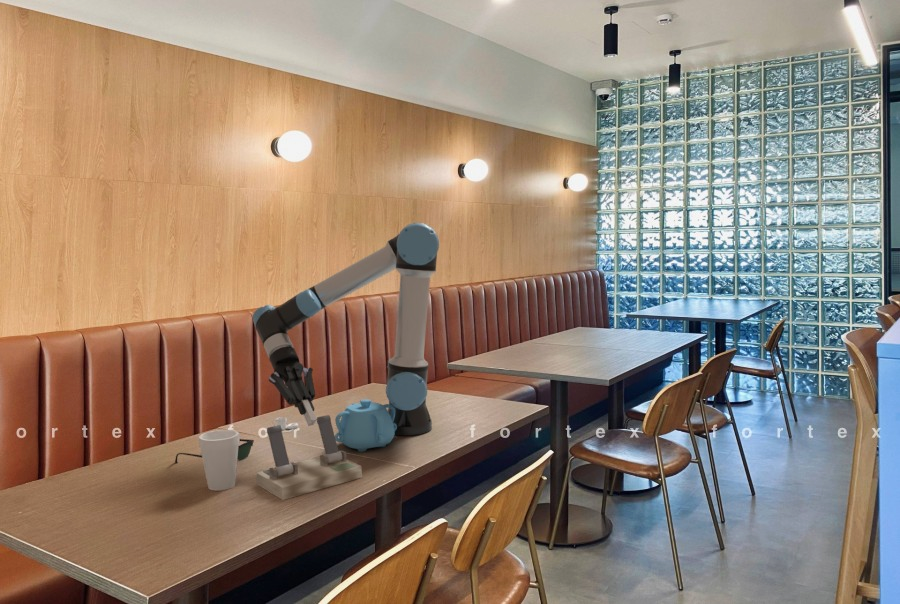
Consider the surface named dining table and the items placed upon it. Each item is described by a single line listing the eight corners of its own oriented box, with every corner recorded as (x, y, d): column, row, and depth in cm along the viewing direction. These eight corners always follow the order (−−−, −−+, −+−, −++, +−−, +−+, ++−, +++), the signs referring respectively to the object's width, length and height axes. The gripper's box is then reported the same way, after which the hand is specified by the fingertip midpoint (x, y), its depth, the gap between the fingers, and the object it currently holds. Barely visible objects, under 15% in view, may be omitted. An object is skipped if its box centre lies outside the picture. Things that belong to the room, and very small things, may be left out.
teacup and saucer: (300, 427, 227) (299, 415, 226) (292, 434, 219) (291, 421, 218) (274, 427, 227) (273, 414, 227) (265, 434, 220) (264, 421, 219)
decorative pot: (354, 435, 215) (352, 392, 214) (402, 439, 210) (401, 395, 209) (329, 451, 200) (327, 405, 198) (380, 456, 195) (379, 408, 193)
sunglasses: (209, 449, 204) (208, 433, 204) (255, 456, 198) (255, 439, 197) (166, 467, 190) (164, 449, 189) (214, 475, 183) (213, 456, 182)
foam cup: (199, 494, 168) (197, 442, 167) (202, 481, 177) (200, 431, 176) (241, 490, 171) (238, 438, 169) (241, 477, 179) (239, 428, 178)
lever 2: (339, 461, 182) (327, 415, 185) (343, 459, 180) (331, 413, 183) (325, 464, 180) (314, 418, 182) (329, 462, 178) (318, 416, 181)
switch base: (333, 464, 189) (332, 444, 188) (361, 477, 178) (361, 456, 177) (256, 484, 174) (255, 463, 174) (282, 499, 164) (281, 477, 163)
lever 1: (290, 473, 173) (278, 426, 176) (294, 471, 171) (282, 423, 174) (275, 477, 171) (264, 429, 173) (279, 475, 169) (267, 426, 172)
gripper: (298, 358, 204) (329, 425, 193) (256, 364, 196) (286, 435, 184) (306, 342, 199) (338, 410, 188) (263, 347, 191) (294, 419, 180)
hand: (312, 422), depth 186 cm, fingers closed
